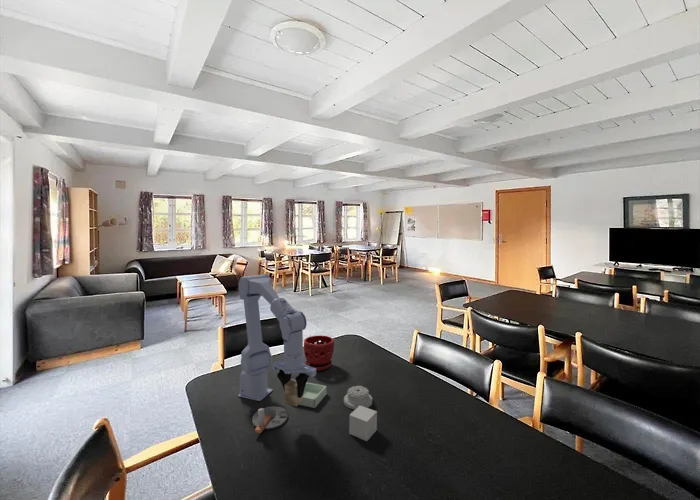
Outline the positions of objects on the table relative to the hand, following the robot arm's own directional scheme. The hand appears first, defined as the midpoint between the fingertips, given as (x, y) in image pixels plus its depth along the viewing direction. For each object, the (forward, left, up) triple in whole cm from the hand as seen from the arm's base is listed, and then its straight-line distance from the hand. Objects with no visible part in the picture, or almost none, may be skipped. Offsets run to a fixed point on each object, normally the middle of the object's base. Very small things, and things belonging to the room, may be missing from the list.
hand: (294, 394), depth 99 cm
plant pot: (-11, +39, -10) cm, 42 cm away
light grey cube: (+21, +3, -10) cm, 24 cm away
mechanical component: (+15, +18, -10) cm, 26 cm away
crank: (-8, -4, -8) cm, 12 cm away
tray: (-3, +14, -9) cm, 17 cm away
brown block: (0, 0, -2) cm, 2 cm away
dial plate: (-9, -1, -9) cm, 13 cm away
